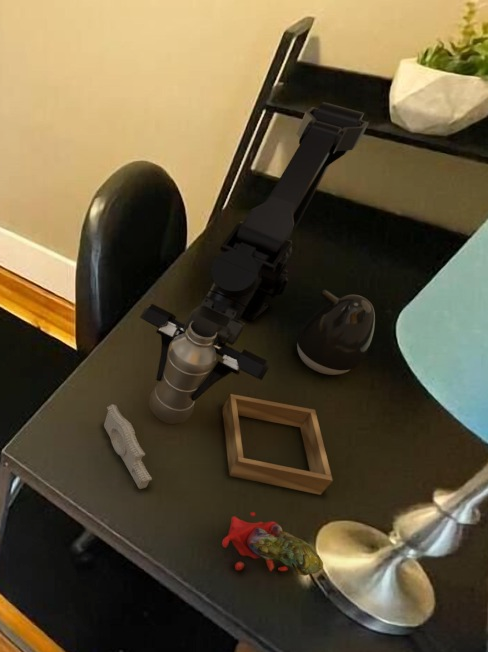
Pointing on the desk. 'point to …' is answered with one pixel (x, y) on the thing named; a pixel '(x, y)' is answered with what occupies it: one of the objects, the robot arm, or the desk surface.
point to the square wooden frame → (274, 473)
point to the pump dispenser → (337, 334)
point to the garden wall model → (126, 445)
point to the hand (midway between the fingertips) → (174, 390)
